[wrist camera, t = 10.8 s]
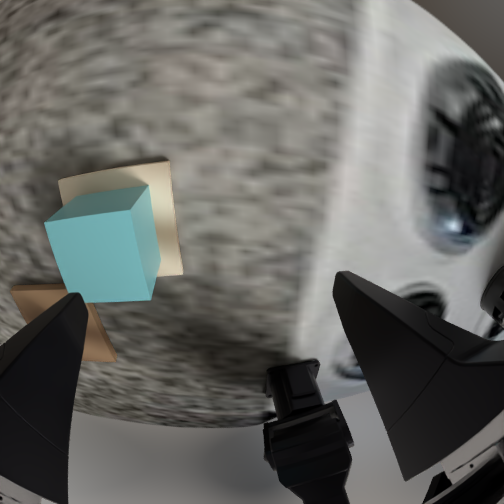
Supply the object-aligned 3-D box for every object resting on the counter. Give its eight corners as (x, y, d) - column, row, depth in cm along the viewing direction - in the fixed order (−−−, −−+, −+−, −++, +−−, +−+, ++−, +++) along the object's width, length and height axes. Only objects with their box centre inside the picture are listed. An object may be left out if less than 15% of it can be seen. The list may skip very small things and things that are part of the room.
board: (183, 270, 22) (182, 274, 21) (87, 277, 21) (85, 281, 20) (169, 160, 18) (168, 161, 17) (61, 178, 16) (57, 180, 16)
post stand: (117, 355, 26) (107, 399, 21) (50, 351, 25) (35, 388, 20) (84, 282, 21) (60, 327, 16) (14, 285, 20) (-13, 322, 15)
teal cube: (161, 259, 21) (150, 300, 16) (94, 265, 20) (72, 302, 15) (148, 185, 18) (130, 209, 13) (76, 196, 17) (44, 222, 13)
